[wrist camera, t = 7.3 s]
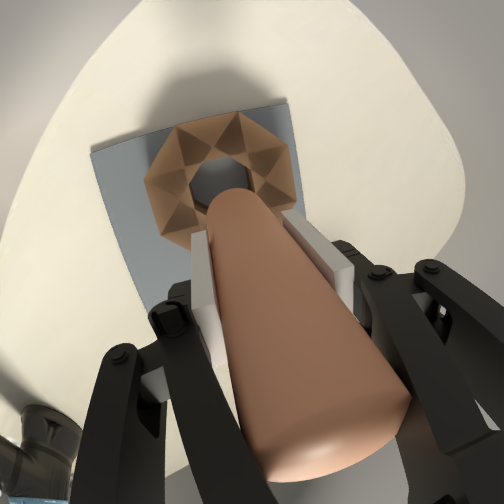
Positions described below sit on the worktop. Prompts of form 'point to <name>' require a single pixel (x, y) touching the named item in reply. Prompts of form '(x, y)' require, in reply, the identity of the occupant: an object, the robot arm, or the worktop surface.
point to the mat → (140, 211)
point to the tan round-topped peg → (295, 350)
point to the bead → (209, 148)
